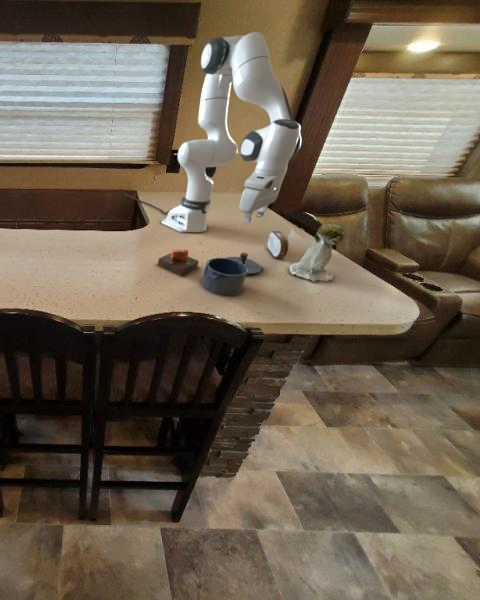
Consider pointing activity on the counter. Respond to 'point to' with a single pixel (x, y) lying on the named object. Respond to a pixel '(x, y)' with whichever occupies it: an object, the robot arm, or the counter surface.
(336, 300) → the counter surface
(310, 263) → the mossy white figurine
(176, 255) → the block
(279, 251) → the tin
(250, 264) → the pot lid
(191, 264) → the handle block
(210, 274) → the pot
